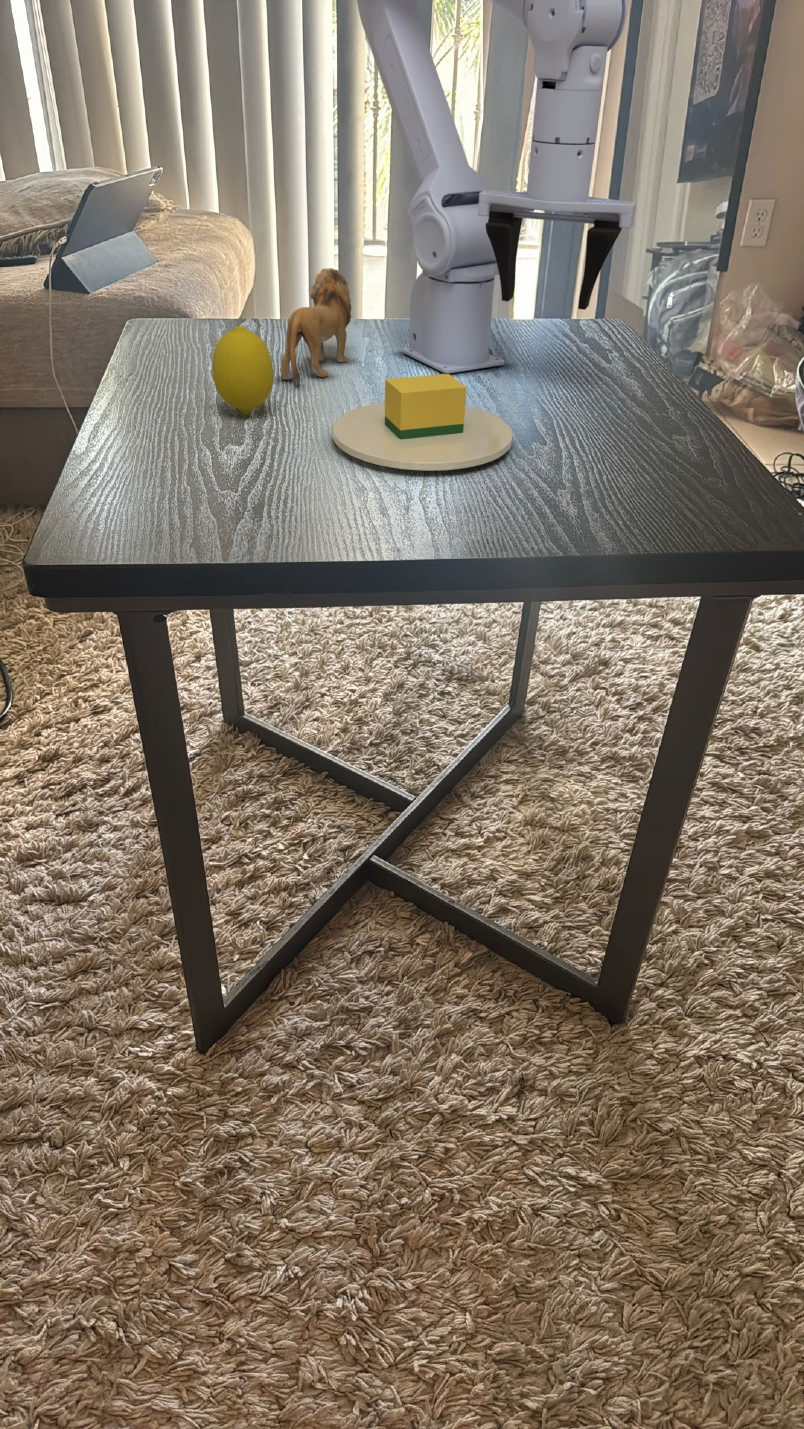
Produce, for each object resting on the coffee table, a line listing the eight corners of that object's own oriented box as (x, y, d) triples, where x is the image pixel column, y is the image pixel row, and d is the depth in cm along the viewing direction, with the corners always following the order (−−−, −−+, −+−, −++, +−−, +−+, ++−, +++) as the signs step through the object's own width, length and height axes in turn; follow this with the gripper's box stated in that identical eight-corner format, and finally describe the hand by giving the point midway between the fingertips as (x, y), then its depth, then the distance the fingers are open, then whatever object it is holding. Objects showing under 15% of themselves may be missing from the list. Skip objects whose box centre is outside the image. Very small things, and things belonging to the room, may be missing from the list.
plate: (302, 429, 84) (301, 415, 83) (447, 404, 91) (448, 391, 90) (390, 491, 73) (390, 475, 72) (547, 457, 80) (549, 443, 79)
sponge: (384, 424, 82) (385, 379, 79) (445, 418, 83) (448, 373, 81) (400, 439, 79) (401, 393, 76) (463, 432, 80) (466, 387, 78)
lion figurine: (313, 348, 105) (311, 263, 100) (358, 352, 105) (358, 266, 99) (273, 386, 94) (268, 291, 88) (323, 390, 93) (321, 296, 88)
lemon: (234, 402, 89) (226, 315, 85) (285, 410, 88) (280, 322, 83) (206, 419, 85) (196, 329, 80) (259, 428, 84) (253, 336, 79)
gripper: (650, 143, 83) (624, 302, 91) (496, 133, 87) (485, 287, 95) (639, 149, 78) (613, 318, 86) (476, 139, 82) (466, 301, 90)
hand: (545, 303), depth 90 cm, fingers open, 7 cm apart
